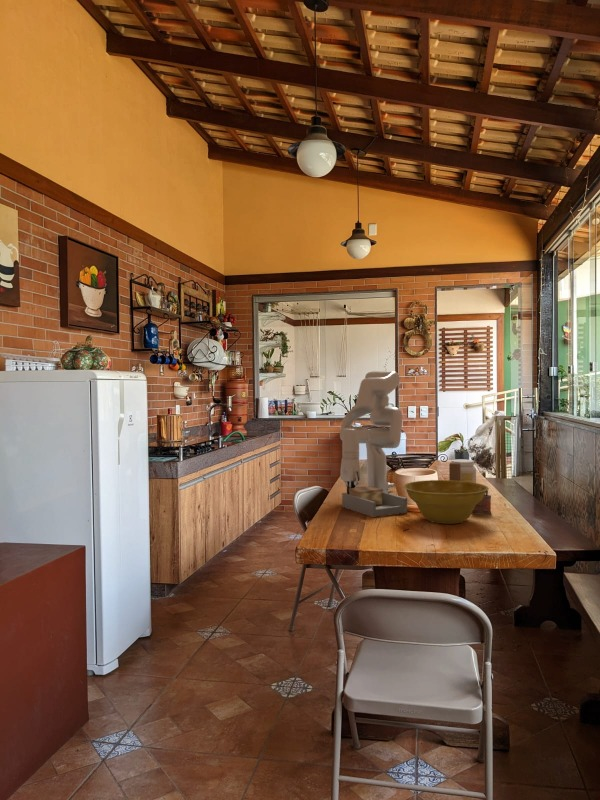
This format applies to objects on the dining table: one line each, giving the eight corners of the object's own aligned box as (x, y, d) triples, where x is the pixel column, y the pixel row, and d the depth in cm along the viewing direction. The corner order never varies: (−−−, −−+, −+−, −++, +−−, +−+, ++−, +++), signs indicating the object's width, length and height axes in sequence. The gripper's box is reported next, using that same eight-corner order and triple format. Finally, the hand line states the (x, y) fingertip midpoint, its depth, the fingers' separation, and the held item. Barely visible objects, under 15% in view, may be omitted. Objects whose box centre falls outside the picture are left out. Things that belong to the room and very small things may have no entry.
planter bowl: (390, 514, 233) (389, 481, 233) (460, 509, 242) (459, 477, 241) (427, 533, 202) (427, 495, 202) (506, 526, 211) (506, 490, 210)
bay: (374, 502, 256) (374, 489, 256) (407, 512, 235) (407, 498, 235) (342, 506, 248) (342, 493, 248) (373, 517, 227) (373, 502, 227)
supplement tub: (456, 492, 279) (456, 458, 278) (480, 495, 271) (480, 460, 270) (444, 496, 270) (444, 460, 269) (469, 499, 262) (469, 463, 261)
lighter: (491, 513, 233) (491, 488, 233) (490, 514, 230) (490, 490, 230) (471, 511, 237) (471, 487, 236) (470, 513, 234) (470, 488, 233)
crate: (370, 500, 254) (370, 486, 254) (382, 504, 246) (382, 489, 245) (348, 503, 248) (348, 488, 248) (360, 507, 240) (360, 491, 240)
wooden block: (471, 503, 253) (471, 463, 252) (470, 505, 249) (470, 464, 248) (450, 502, 256) (450, 462, 255) (449, 504, 252) (449, 463, 251)
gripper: (334, 454, 262) (335, 494, 262) (352, 457, 248) (352, 499, 249) (348, 453, 265) (348, 493, 265) (367, 456, 252) (367, 498, 252)
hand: (350, 496), depth 257 cm, fingers closed
